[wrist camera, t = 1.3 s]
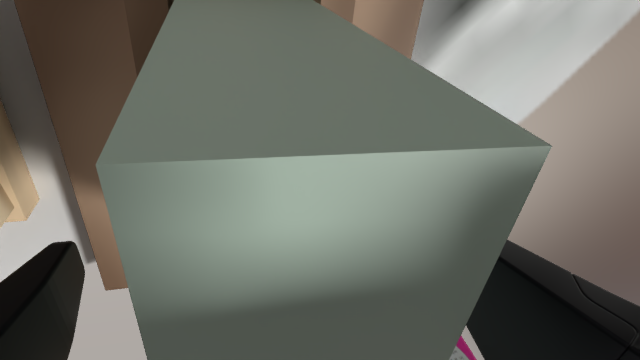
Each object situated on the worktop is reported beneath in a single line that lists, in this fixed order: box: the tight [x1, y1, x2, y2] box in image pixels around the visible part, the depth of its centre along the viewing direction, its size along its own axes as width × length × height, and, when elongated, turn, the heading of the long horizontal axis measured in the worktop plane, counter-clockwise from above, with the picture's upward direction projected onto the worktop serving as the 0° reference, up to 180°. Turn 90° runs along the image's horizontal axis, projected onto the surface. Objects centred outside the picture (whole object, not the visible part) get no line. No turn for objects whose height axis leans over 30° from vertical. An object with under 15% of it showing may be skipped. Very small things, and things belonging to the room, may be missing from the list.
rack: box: [14, 0, 424, 290], centre depth 15 cm, size 14×18×2 cm
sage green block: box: [96, 0, 552, 360], centre depth 11 cm, size 4×10×12 cm, turn 174°
